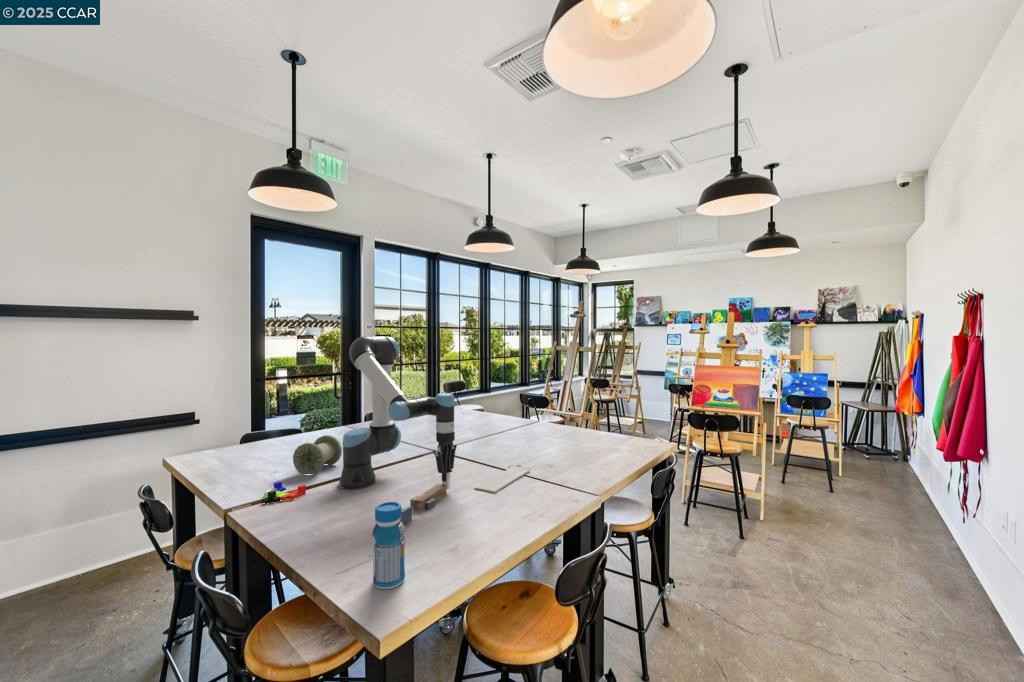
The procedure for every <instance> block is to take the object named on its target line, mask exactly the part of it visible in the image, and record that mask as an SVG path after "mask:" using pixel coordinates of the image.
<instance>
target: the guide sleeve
mask: <svg viewBox="0 0 1024 682" xmlns="http://www.w3.org/2000/svg"><path fill="white" fill-rule="evenodd" d="M418 496H419V495H415V497H412V498H411V499H410V500H409V501H410V505H409V506H411V507H413V499H415V498H416V497H418ZM435 506H436V502H435V499H430V500H429V501H427V502H425V509H424V510H427V511H428V510H429V511H430V510H431V509H432V508H434V507H435Z"/></svg>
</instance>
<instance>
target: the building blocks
mask: <svg viewBox="0 0 1024 682" xmlns="http://www.w3.org/2000/svg"><path fill="white" fill-rule="evenodd" d="M306 488H307V487H306V485H305V484H300V485H298V486H297V489H295V490H293V491H291V492H287V487H285V486H283V481H279V480H278V481H275V482H274V483H273V488H271V489H267V490H266V491H264V496H263V499H262V504H263V503H265V504H264V505H266V504H267V503H270V502H277V501H280V500H283V501H285V500H287V499H295V498H298V497H300V496H302V495H304V494H307V493H306V492H307V489H306ZM284 490H286V492H282V491H284ZM304 496H305V495H304ZM302 497H303V496H302ZM300 498H301V497H300ZM298 499H299V498H298ZM295 500H296V499H295ZM283 501H282V502H283ZM280 502H281V501H280ZM285 502H286V501H285ZM277 503H278V502H277ZM270 504H271V503H270ZM267 505H268V504H267Z"/></svg>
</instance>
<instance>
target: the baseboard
mask: <svg viewBox="0 0 1024 682" xmlns="http://www.w3.org/2000/svg"><path fill="white" fill-rule="evenodd" d="M511 466H512V467H511ZM513 466H514V465H512V464H511V465H509V466H508V467H507V468H508V469H506V470H504V471H502V472H501V473H498V474H497V475H495V476H493V477H492V478H490V479H488V480H486V481H484V482H482V483H480V484H479V485H477V486H476V487H474V488H473V490H475V491H476V490H477V491H481V492H486V493H491V494H496V493H497V492H499V491H501V490H503V489H504V488H506V487H507V486H509V485H510V484H512V483H514V482H515V481H517V480H519V479H520V478H522V477H523V476H525V475H527V474H528V473H530V467H528V469H527V468H524V469H523V468H522V465H516V467H515V466H514V467H513ZM502 488H503V489H502Z"/></svg>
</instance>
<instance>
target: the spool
mask: <svg viewBox="0 0 1024 682" xmlns="http://www.w3.org/2000/svg"><path fill="white" fill-rule="evenodd" d="M342 455H343V446H342V445H341V442H340V441H339V440H338V439H337V438H336V437H335V436H333V435H328V434H327V435H326V434H325V435H323V436H320V437H317V439H316V440H315V441H314V443H313V442H305V443H303V444H300V445H299V446H297V447H296V448H295V449H294V452H293V454H292V463H293V465H294V469H296V471H297V472H298V473H299V474H301V475H303V474H314V475H316V474H319V473H320V472H321V470H322V469H323V467H324V466H323V465H324V464H328V465H330V466H333V465H335V464H337V462H338V461H339V460H340V459H341V456H342Z"/></svg>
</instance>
